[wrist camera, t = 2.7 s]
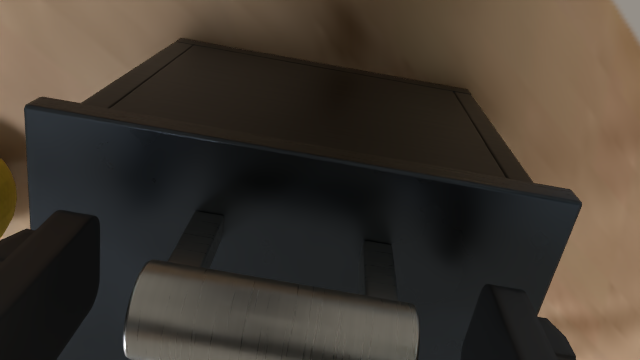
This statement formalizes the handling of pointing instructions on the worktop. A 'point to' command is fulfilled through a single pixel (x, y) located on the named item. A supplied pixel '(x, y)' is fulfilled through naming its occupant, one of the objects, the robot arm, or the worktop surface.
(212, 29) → the worktop surface
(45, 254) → the robot arm
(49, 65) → the worktop surface
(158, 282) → the bin lid
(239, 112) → the bin
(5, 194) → the lemon
